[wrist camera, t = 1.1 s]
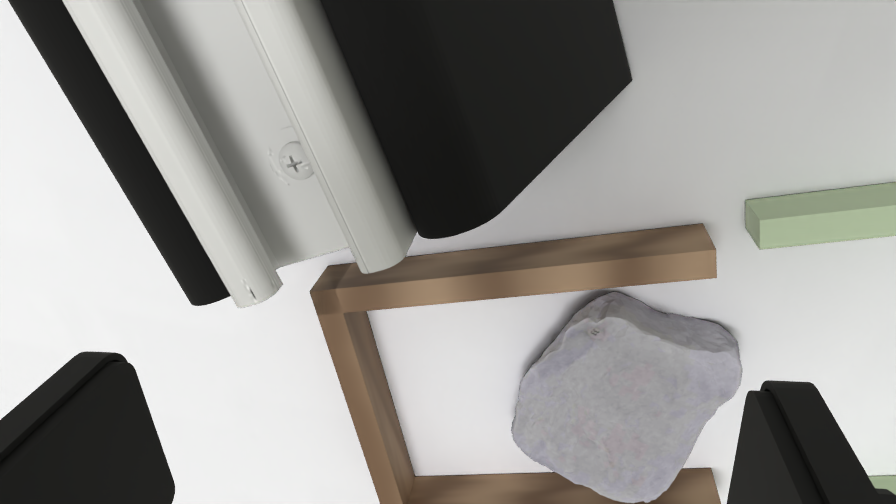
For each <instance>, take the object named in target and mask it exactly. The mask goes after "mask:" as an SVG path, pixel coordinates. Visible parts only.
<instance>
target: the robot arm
mask: <svg viewBox="0 0 896 504" xmlns="http://www.w3.org/2000/svg"><path fill="white" fill-rule="evenodd" d="M174 494H175V484H174V480H173V478H172V475H171V472H170V469H169V466H168V463H167V460H166V457H165V454H164V452H163V449H162V446H161V443H160V440H159V437H158V434H157V431H156V428H155V425H154V423H153V420H152V417H151V414H150V411H149V408H148V405H147V402H146V399H145V397H144V394H143V391H142V388H141V385H140V382H139V379H138V376H137V373H136V370H135V369H134V367H133V365H131V364H130V363H128V362H127V360H126V358H125V357H124V356H122V355H121V354H118V353H109V352H82V353H79V354H78V355H76V356H74V357H73V358H72V359H71V360H70V361H69V362H67V363H66V364H65V365H64V366H63V367H62V368H60V369H59V370H58V371H57V372H56V373H55V374H53V375H52V376H51V377H50V378H49V379H48V380H47V381H45V382H44V383H43V384H42V385H41V386H40V387H38V388H37V389H36V390H35V391H34V392H33V393H31V394H30V395H29V396H28V397H27V398H26V399H24V400H23V401H22V402H21V403H20V404H19V405H17V406H16V407H15V408H14V409H13V410H12V411H10V412H9V413H8V414H7V415H6V416H5V417H3V418H2V419H1V420H0V504H172V501H173V499H174ZM727 504H896V495H895V494H894V493H892V492H891V491H889V490H888V489H879V488H875V487H874V486H873V484H872V482H871V481H870V479H869V477H868V475H867V474H866V472H865V470H864V468H863V467H862V465H861V463H860V462H859V460H858V458H857V456H856V455H855V453H854V451H853V450H852V448H851V446H850V444H849V443H848V441H847V439H846V438H845V436H844V434H843V432H842V431H841V429H840V427H839V425H838V424H837V422H836V420H835V419H834V417H833V415H832V413H831V412H830V410H829V408H828V407H827V405H826V403H825V401H824V400H823V398H822V396H821V395H820V393H819V391H818V389H817V388H816V387H815V386H814V384H812V383H810V382H790V381H765V382H764V383H763V384H762V386H761V389H760V391H749V392H748V394H747V396H746V400H745V406H744V411H743V417H742V422H741V428H740V433H739V439H738V444H737V450H736V455H735V461H734V467H733V472H732V478H731V483H730V489H729V494H728V500H727Z"/></svg>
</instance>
